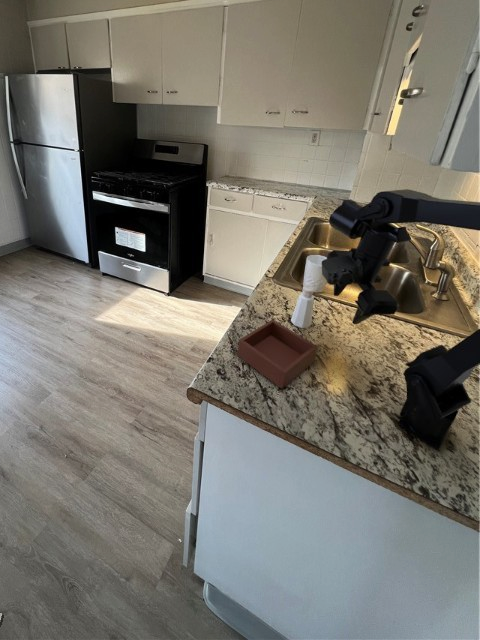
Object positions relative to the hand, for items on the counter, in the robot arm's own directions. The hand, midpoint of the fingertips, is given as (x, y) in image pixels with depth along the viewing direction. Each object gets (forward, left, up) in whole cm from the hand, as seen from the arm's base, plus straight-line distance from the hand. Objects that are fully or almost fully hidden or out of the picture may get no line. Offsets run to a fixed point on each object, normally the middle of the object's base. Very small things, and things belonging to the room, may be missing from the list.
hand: (344, 308), depth 71 cm
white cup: (+19, -24, -12) cm, 33 cm away
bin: (+7, +13, -12) cm, 19 cm away
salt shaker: (+11, -4, -12) cm, 17 cm away
